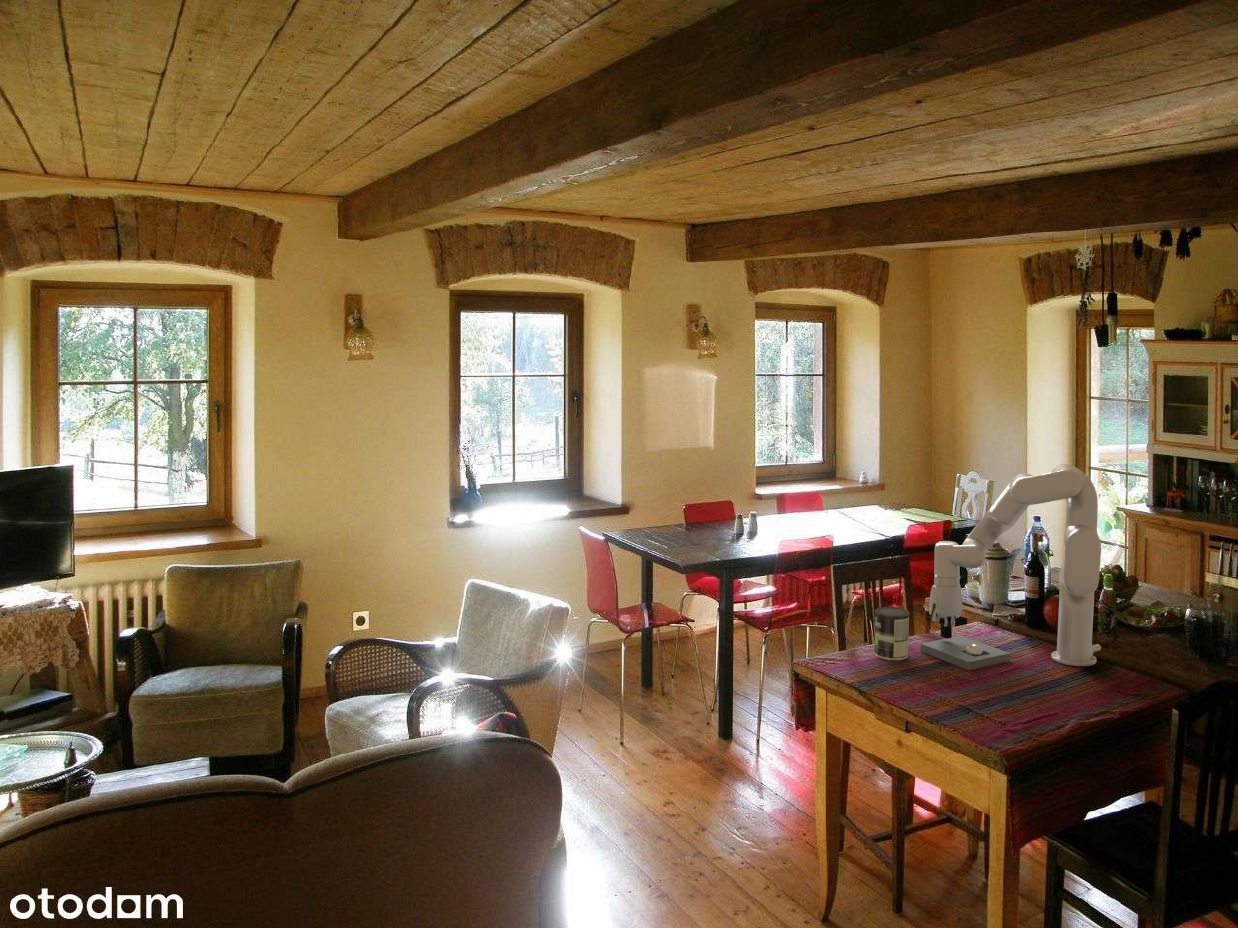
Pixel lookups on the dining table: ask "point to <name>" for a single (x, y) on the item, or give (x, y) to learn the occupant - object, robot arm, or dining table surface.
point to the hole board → (964, 652)
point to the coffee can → (891, 633)
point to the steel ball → (974, 650)
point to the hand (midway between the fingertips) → (946, 637)
